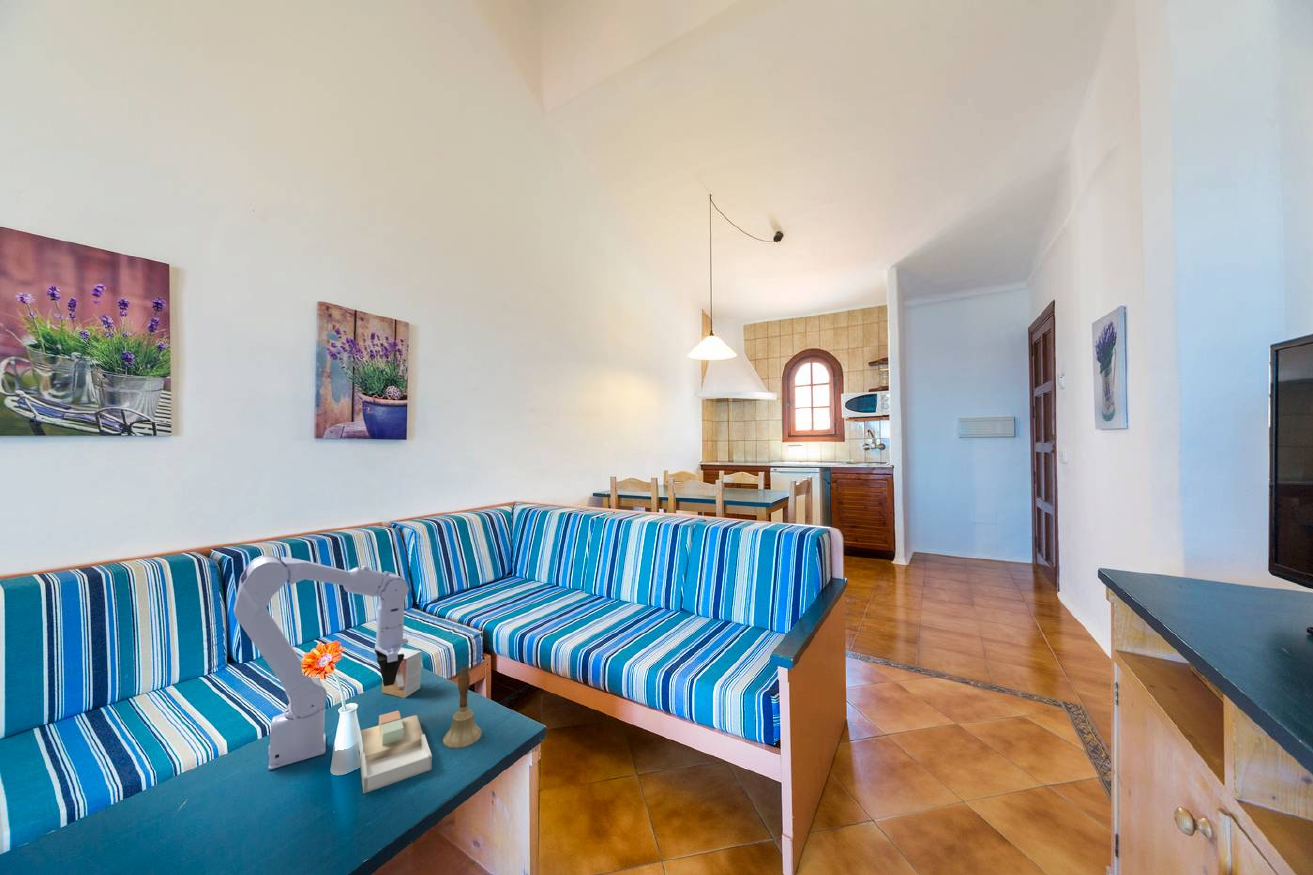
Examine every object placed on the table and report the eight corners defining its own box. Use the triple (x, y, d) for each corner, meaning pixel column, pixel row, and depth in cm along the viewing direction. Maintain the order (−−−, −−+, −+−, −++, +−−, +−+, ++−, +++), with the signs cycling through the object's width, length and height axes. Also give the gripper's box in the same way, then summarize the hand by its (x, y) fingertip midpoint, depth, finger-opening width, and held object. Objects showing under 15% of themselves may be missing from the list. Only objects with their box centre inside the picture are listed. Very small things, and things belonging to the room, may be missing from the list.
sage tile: (382, 745, 99) (382, 733, 99) (380, 736, 103) (381, 724, 103) (403, 739, 102) (403, 727, 102) (400, 730, 105) (401, 719, 105)
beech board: (360, 767, 95) (361, 757, 95) (357, 740, 104) (358, 731, 104) (424, 746, 102) (424, 737, 102) (416, 723, 111) (416, 714, 111)
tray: (363, 793, 88) (363, 778, 88) (360, 767, 95) (361, 753, 95) (431, 769, 95) (432, 755, 95) (424, 746, 102) (424, 734, 102)
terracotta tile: (380, 735, 103) (380, 723, 103) (378, 726, 106) (379, 715, 106) (400, 729, 105) (400, 718, 105) (398, 720, 109) (398, 710, 109)
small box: (381, 693, 124) (383, 654, 125) (398, 683, 130) (400, 646, 130) (404, 698, 122) (406, 658, 123) (420, 688, 127) (422, 650, 128)
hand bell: (449, 753, 100) (452, 679, 101) (438, 735, 107) (441, 666, 107) (486, 739, 106) (489, 669, 106) (474, 722, 112) (477, 656, 113)
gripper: (413, 630, 109) (410, 688, 108) (404, 613, 121) (402, 665, 120) (378, 637, 105) (375, 697, 104) (373, 618, 116) (370, 672, 116)
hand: (387, 680), depth 112 cm, fingers open, 4 cm apart
